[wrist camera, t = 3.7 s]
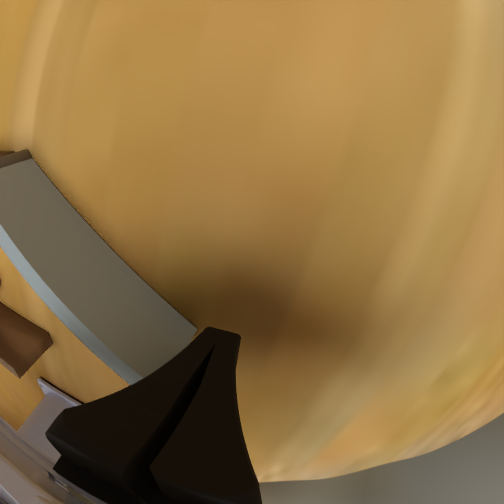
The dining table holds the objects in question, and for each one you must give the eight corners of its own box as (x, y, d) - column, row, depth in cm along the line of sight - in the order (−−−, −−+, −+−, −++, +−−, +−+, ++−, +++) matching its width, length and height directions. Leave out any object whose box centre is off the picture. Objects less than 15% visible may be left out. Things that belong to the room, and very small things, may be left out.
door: (198, 328, 14) (154, 406, 9) (183, 340, 15) (140, 413, 10) (23, 145, 12) (-47, 167, 7) (17, 164, 12) (-49, 189, 8)
